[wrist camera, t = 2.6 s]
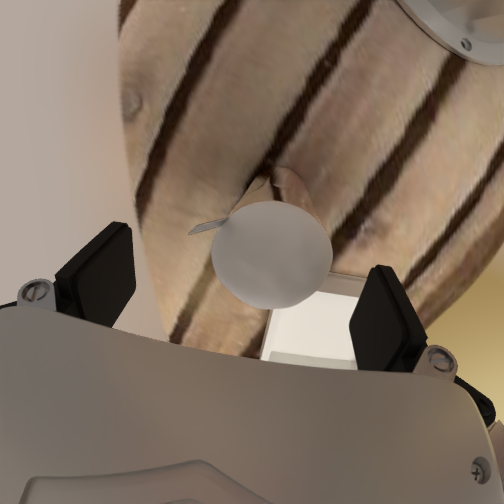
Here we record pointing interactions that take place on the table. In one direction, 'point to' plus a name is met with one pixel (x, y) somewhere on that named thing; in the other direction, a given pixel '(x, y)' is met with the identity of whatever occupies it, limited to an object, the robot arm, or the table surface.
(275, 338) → the tray
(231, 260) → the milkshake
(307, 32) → the table surface
